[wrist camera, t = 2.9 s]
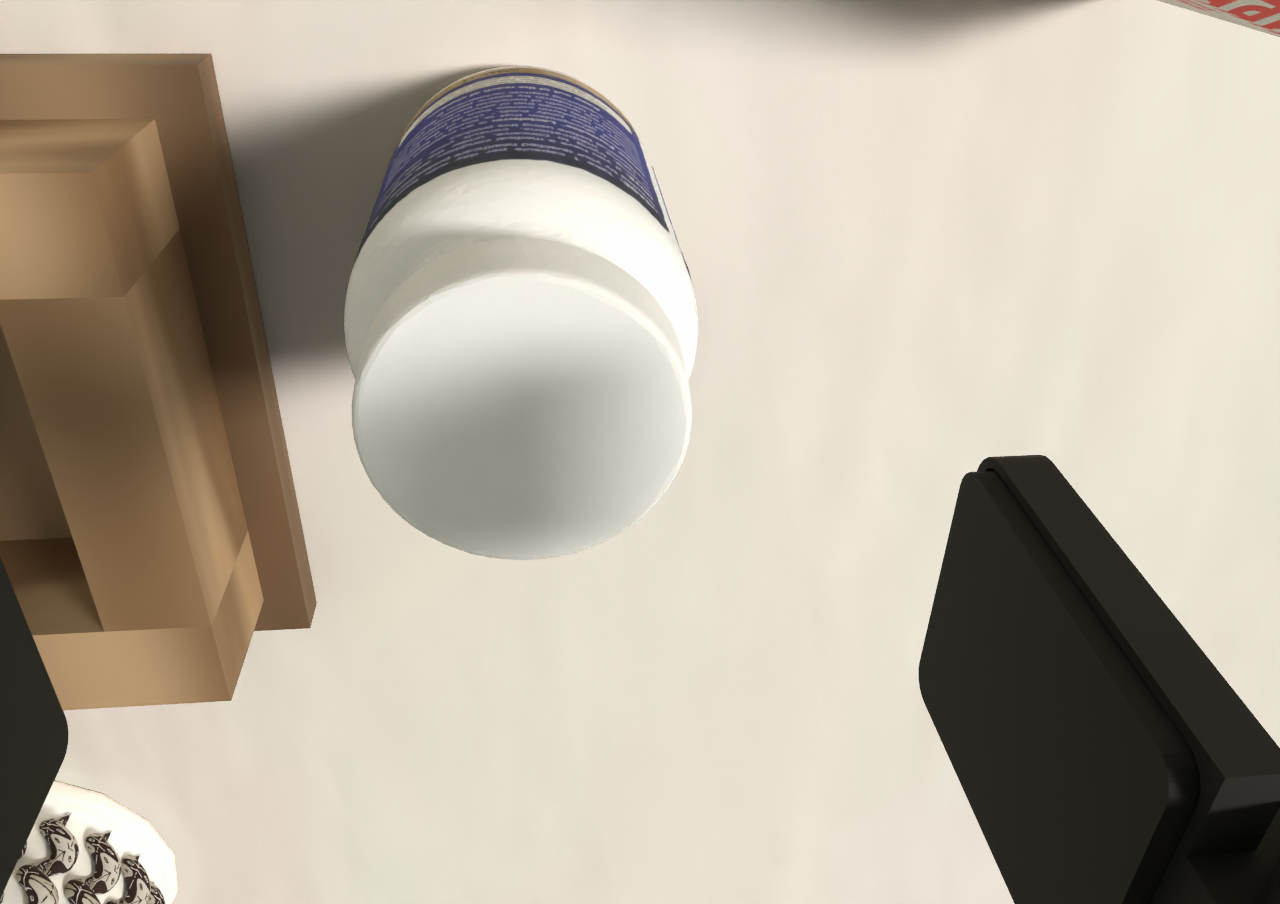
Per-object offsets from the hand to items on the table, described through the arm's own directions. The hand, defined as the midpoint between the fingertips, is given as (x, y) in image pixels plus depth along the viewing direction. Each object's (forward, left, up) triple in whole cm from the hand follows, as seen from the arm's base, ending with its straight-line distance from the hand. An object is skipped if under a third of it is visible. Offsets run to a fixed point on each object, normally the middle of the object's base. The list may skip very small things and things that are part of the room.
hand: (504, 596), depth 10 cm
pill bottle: (0, +1, -14) cm, 14 cm away
